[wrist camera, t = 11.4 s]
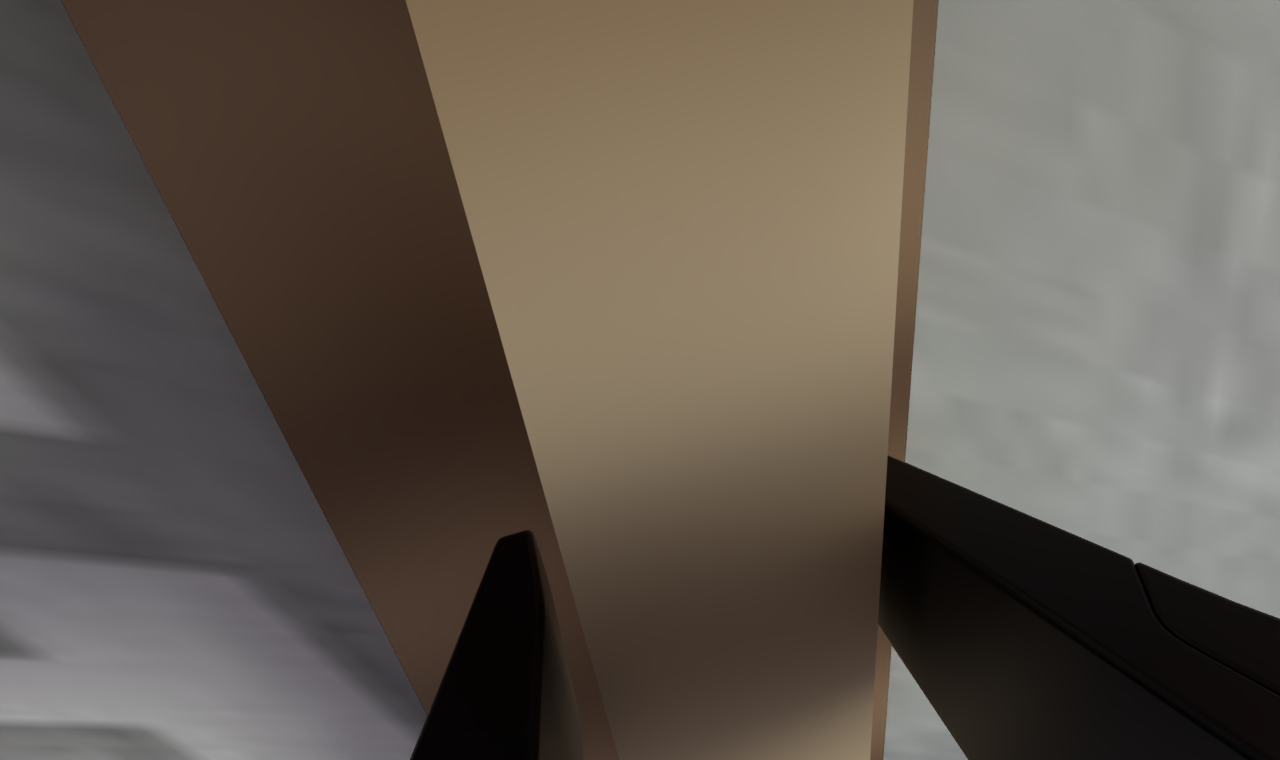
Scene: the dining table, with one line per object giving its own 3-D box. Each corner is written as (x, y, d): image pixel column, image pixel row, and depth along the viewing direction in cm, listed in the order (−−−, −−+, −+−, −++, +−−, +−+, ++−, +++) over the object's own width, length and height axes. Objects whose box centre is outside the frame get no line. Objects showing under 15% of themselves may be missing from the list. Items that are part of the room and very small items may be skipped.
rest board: (861, 732, 18) (882, 768, 17) (517, 855, 17) (522, 901, 16) (935, -1035, 6) (1027, -1210, 5) (-421, -1087, 4) (-627, -1339, 3)
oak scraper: (762, 710, 15) (860, 925, 12) (624, 757, 14) (685, 996, 11) (674, -341, 6) (951, -674, 3) (335, -304, 6) (224, -641, 3)
